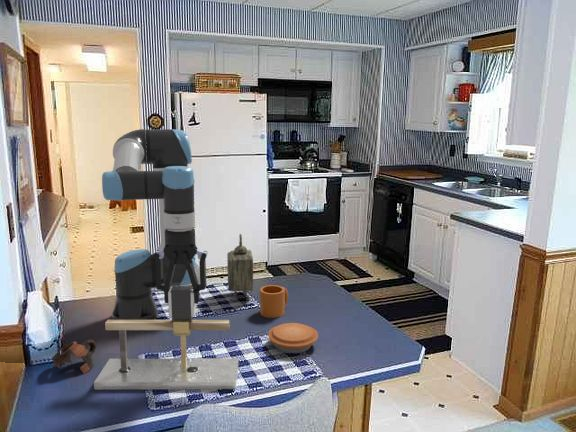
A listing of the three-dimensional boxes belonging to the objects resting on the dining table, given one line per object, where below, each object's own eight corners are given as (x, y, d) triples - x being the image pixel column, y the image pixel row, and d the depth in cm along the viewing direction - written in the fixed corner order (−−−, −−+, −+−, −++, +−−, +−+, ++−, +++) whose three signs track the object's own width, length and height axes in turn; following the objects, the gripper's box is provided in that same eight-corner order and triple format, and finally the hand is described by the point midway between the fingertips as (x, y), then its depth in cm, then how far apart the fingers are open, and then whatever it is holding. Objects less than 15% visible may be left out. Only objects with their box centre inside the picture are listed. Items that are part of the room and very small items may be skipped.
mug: (296, 312, 168) (297, 289, 166) (267, 320, 162) (268, 296, 160) (283, 303, 175) (283, 281, 173) (255, 310, 169) (255, 287, 167)
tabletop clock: (253, 302, 176) (253, 239, 171) (229, 303, 175) (228, 239, 170) (249, 288, 190) (249, 229, 185) (227, 289, 189) (227, 230, 184)
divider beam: (110, 368, 125) (107, 319, 122) (229, 367, 126) (229, 319, 124) (108, 371, 123) (105, 322, 120) (229, 371, 125) (228, 323, 122)
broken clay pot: (78, 382, 123) (59, 357, 121) (60, 386, 128) (41, 363, 126) (110, 351, 133) (93, 328, 131) (91, 357, 138) (75, 335, 136)
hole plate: (110, 365, 130) (109, 358, 130) (238, 364, 132) (238, 358, 131) (94, 389, 119) (93, 382, 118) (235, 388, 120) (235, 381, 120)
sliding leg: (176, 363, 127) (173, 284, 122) (194, 363, 127) (192, 284, 123) (173, 372, 123) (170, 291, 118) (192, 372, 123) (189, 291, 118)
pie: (260, 351, 140) (260, 336, 139) (278, 330, 154) (278, 316, 153) (308, 361, 135) (309, 345, 133) (323, 338, 149) (324, 324, 148)
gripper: (139, 231, 113) (143, 320, 118) (214, 232, 113) (215, 320, 118) (147, 224, 120) (151, 308, 125) (217, 225, 121) (218, 308, 126)
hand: (182, 314), depth 122 cm, fingers closed on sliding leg, 5 cm apart
